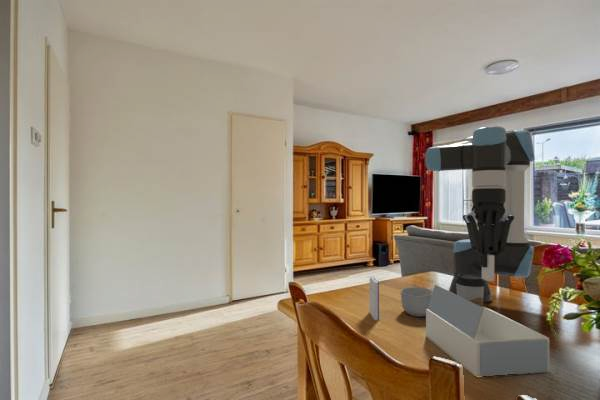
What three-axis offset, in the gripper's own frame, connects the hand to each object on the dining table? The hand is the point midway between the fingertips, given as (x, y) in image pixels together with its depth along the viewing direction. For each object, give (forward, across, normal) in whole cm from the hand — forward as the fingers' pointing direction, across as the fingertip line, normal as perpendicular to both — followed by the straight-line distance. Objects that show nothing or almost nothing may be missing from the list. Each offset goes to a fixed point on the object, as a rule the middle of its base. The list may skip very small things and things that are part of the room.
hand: (487, 279), depth 85 cm
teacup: (+19, +4, -31) cm, 37 cm away
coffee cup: (+19, -8, -19) cm, 28 cm away
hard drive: (+19, +20, -29) cm, 40 cm away
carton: (+19, +2, 0) cm, 19 cm away
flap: (+11, +11, 0) cm, 15 cm away
